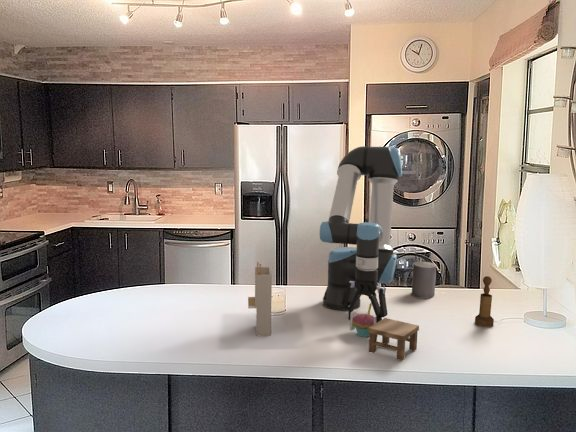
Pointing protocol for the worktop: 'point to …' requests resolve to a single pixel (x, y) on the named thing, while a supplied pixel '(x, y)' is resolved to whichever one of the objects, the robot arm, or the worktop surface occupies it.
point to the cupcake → (363, 323)
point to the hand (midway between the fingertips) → (364, 332)
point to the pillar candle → (424, 279)
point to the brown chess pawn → (485, 306)
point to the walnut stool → (393, 336)
